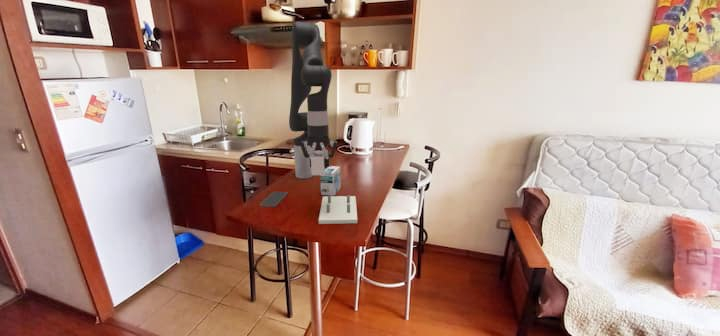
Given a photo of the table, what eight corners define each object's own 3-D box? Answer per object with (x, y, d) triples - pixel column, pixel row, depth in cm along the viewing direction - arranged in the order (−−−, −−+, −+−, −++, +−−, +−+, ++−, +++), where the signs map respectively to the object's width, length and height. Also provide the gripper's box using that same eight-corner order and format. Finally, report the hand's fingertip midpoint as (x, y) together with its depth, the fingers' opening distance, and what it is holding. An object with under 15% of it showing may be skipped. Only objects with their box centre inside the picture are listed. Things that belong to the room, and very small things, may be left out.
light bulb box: (334, 196, 135) (334, 173, 131) (320, 194, 136) (319, 172, 133) (341, 187, 145) (340, 166, 141) (327, 186, 146) (326, 165, 143)
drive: (315, 165, 121) (314, 148, 119) (327, 165, 121) (326, 148, 119) (311, 175, 110) (310, 156, 108) (324, 175, 110) (323, 156, 108)
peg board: (322, 199, 131) (322, 190, 129) (355, 199, 131) (355, 189, 130) (318, 223, 110) (318, 212, 108) (357, 223, 110) (357, 212, 109)
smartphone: (258, 205, 124) (273, 191, 138) (258, 207, 124) (273, 193, 138) (275, 206, 123) (288, 192, 137) (275, 208, 123) (288, 194, 137)
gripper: (338, 121, 114) (338, 165, 119) (300, 121, 114) (302, 165, 119) (337, 124, 107) (338, 170, 112) (296, 124, 107) (299, 171, 112)
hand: (319, 167), depth 115 cm, fingers closed on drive, 4 cm apart
